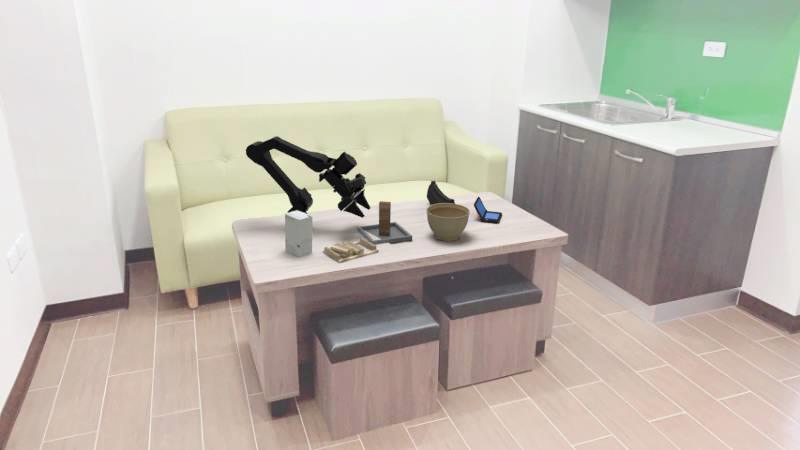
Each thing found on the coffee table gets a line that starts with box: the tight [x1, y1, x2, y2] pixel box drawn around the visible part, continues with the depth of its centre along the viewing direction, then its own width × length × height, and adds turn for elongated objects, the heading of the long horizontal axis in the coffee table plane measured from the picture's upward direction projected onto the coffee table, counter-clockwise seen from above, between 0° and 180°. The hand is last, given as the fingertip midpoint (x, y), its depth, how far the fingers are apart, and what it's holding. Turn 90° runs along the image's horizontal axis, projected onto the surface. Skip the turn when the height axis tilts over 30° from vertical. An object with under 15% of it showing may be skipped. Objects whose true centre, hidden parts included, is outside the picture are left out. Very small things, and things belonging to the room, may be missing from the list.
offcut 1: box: [329, 242, 354, 255], centre depth 202 cm, size 4×7×2 cm, turn 58°
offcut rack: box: [322, 237, 379, 264], centre depth 204 cm, size 16×11×3 cm
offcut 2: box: [336, 252, 354, 259], centre depth 202 cm, size 4×7×2 cm, turn 54°
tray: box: [356, 221, 413, 245], centre depth 221 cm, size 16×16×2 cm
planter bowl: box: [426, 203, 471, 242], centre depth 220 cm, size 16×16×11 cm
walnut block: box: [378, 200, 392, 236], centre depth 219 cm, size 2×4×13 cm, turn 79°
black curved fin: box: [426, 180, 456, 206], centre depth 244 cm, size 17×3×30 cm
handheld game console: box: [473, 196, 503, 225], centre depth 242 cm, size 12×11×7 cm
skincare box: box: [284, 210, 313, 258], centre depth 202 cm, size 8×6×15 cm
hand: (366, 212), depth 219 cm, fingers open, 9 cm apart
